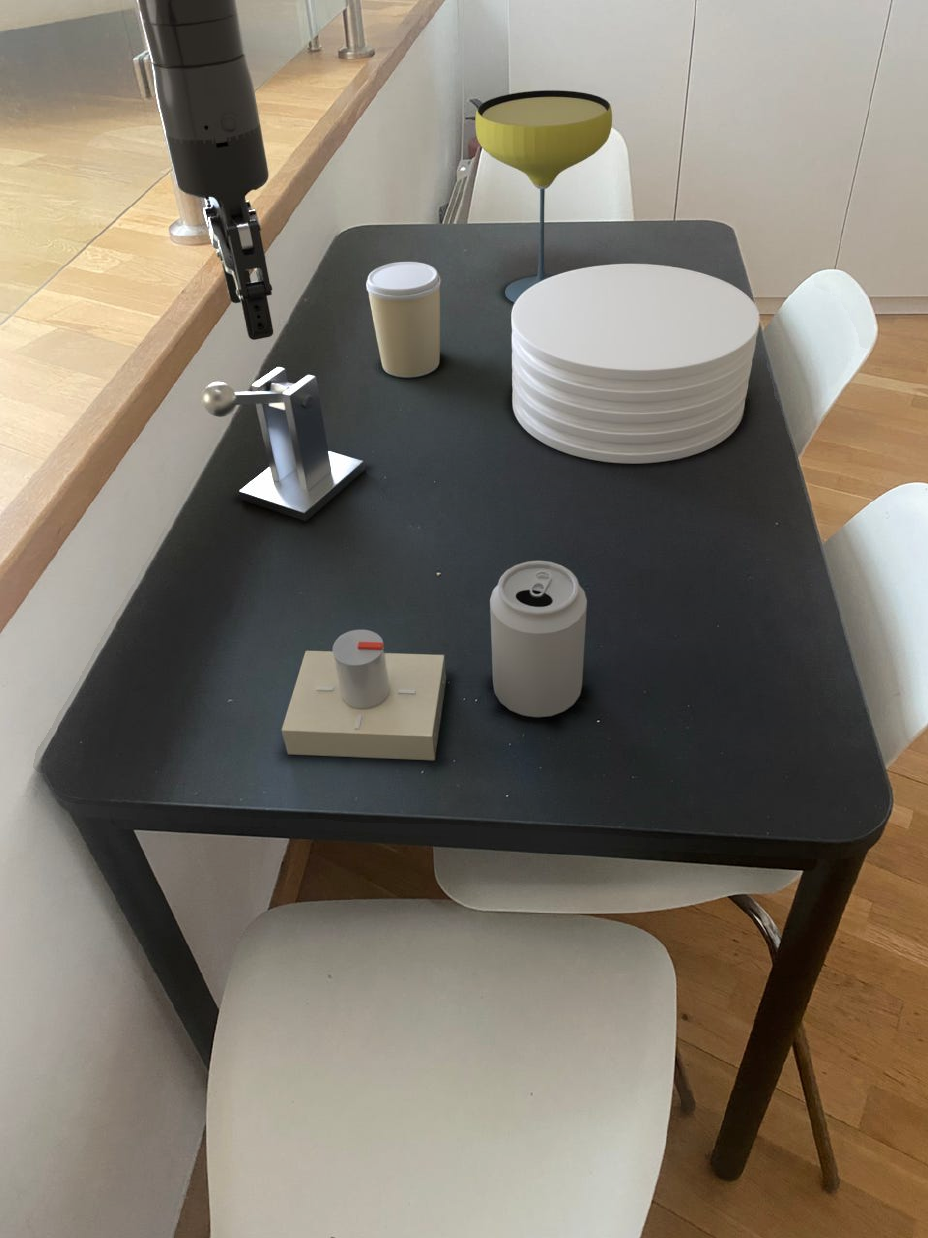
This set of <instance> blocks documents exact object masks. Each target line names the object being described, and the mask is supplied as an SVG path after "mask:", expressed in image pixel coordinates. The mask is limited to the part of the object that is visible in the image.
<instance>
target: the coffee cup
mask: <svg viewBox="0 0 928 1238" xmlns="http://www.w3.org/2000/svg"><path fill="white" fill-rule="evenodd" d="M365 283H366V284H365V285H366V286H365V287H366V291H367V292H368V298H369V303H370V309H371V314H372V321H373V327H374V330H375V331H374V332H375V336H376V341H377V347H378V352H379V357H380V362H381V366H382V369H383V371H385V373H386V374H388V375H391V376H394V377H397V378H407V379H408V378H418V377H422V376H425V375H428V374H430V373H432V372H434V371H435V370H436V369H437V368H438V366H439V365H440V359H441V358H440V357H441V355H440V353H441V351H440V350H441V344H440V343H441V297H440V295H441V294H440V292H441V290H440V286H441V276H440V274H439V273H438V270H437V269H436V268H435V267H433V266H432V265H430V264H427V263H423V262H418V261H399V262H392V263H387V264H384V265H382V266H379V267H376V268H375V269H372V271H371V272H370V273H369V274H368V276H367V280H366V282H365Z"/></svg>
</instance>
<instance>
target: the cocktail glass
mask: <svg viewBox="0 0 928 1238" xmlns="http://www.w3.org/2000/svg"><path fill="white" fill-rule="evenodd" d="M474 124H475V125H474V127H475V136H476V140H477V142H478V144H479V145H480V147H481V148H482V149H483V150H484V151H485V152H486V153H487V154H488V155H489V156H490V157H491V158H493V159H495V160H496V161H499V162H501V163H503V164H504V165H507V166H508V167H511V168H513V169H515V170H518V171H519V172H521V173H523V174H524V175H526V176H527V177H528V179H529V180H530V182H531V183H532V184H533V186H534V187H535V188H536V189H538V190H539V239H538V241H539V242H538V247H539V248H538V264H537V265H538V266H537V272H536V273H537V274H536V275H535V276H528V277H524V278H520V279H517V280H515V281H512V282H511V283H509V284H508V285H507V286H506V288H505V291H504V294H505V297H506V298H507V299H508V300H509V301H510V302H512V303H513V304H515V302H516V301H517V299H518V298H519V297H520V296H521V295H522V294H523V293H524V292H525V291H526V290H527V289H529V288H530V287H532V286H533V285H535V284H537V283H539V282H541V281H543V280H545V279H547V278H550V277H552V276H551V275H546V269H545V268H546V267H545V265H546V264H545V196H546V195H545V194H546V193H545V191H546V189H548V188H549V187H550V186H551V185H552V184H553V183H554V181H555V180H556V178H557V177H558V176H559V174H561V173H562V172H564V171H566V170H567V169H569V168H571V167H573V166H575V165H578V164H579V163H581V162H583V161H585V160H586V159H588V158H590V157H591V156H593V155H595V154H596V153H597V152H598V151H599V150H601V148H603V146H604V145H605V144H606V143H607V142H608V140H609V138H610V134H611V131H612V126H613V111H612V106H611V103H609V100H606V99H605V98H603V97H601V96H599V95H595V94H592V93H587V92H581V91H575V90H563V89H562V90H560V89H559V90H558V89H546V90H543V89H542V90H528V91H519V92H513V93H507V94H503V95H499V96H496V97H493V98H491V99H488V100H486V101H484V102H482V103H481V104H480V105H479V106H478V107H477V109H476V112H475V123H474Z"/></svg>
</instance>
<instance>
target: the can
mask: <svg viewBox="0 0 928 1238" xmlns="http://www.w3.org/2000/svg"><path fill="white" fill-rule="evenodd" d="M490 595H491V596H490V599H489V608H490V609H489V611H490V637H491V638H490V639H491V663H492V666H491V667H492V685H493V692H494V694H495V697H496V698H497V699H498V701H499V703H500V704H502V705H503V706H504V707H506V708H507V710H509V711H511V712H513V713H516V714H519V715H521V716H524V717H531V718H543V717H544V718H545V717H552V716H555V715H558V714H560V713H563V712H565V711H567V710H568V709H570V708H571V707H572V706H574V704H575V703H576V702H577V700H578V699H579V697H580V696H581V692H582V687H583V676H584V675H583V674H584V661H585V660H584V657H585V642H586V624H587V610H588V609H587V608H588V607H587V606H588V599H587V596H586V592H585V590H584V589H583V588H582V586H581V585H580V584H579V580H578V578H577V576H576V575H575V574H574V573H573V572H572V571H571V570H570V569H568V568H567V567H565V566H564V565H561V564H559V563H556V562H553V561H548V560H547V561H545V560H530V561H529V560H528V561H525V562H521V563H517V564H515V565H513V566H511V567H510V568H508V569H507V570H505V572H503V574H502V575H501V576H500V577H499V580H498V583H497V585H496V586H495V587H494V588H493V589H492V592H491V594H490Z"/></svg>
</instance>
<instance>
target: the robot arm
mask: <svg viewBox="0 0 928 1238" xmlns="http://www.w3.org/2000/svg"><path fill="white" fill-rule="evenodd" d="M136 1H137V5H138V8H139V13H140V18H141V21H142V26H143V30H144V34H145V39H146V44H147V47H148V51H149V55H150V59H151V66H152V71H153V78H154V79H153V81H154V90H155V96H156V101H157V105H158V110H159V112H160V114H159V115H160V118H161V122H162V126H163V131H164V135H165V139H166V143H167V148H168V152H169V157H170V160H171V165H172V170H173V175H174V177H175V182H176V185H177V188H178V189H179V190H180V191H181V192H182V193H184V194H185V195H188V196H190V197H194V198H198V199H203V200H204V205H205V207H203V216H204V219H205V222H206V226H207V228H208V233H209V236H210V240H211V243H212V246H213V248H214V249H216V251H215V253H216V257H217V258H218V259H219V261H220V262H221V266H222V270H223V275H224V279H225V285H226V289H227V294H228V298H229V299H230V301H231V303H233V304H239V303H240V305H241V311H242V316H243V320H244V324H245V325H244V326H245V329H246V334H247V336H248V338H249V339H250V340H253V341H255V340H261V339H267V338H270V337H272V335H273V334H274V327H273V322H272V317H271V312H270V307H269V300H268V296H272V295H273V293H272V291H273V287H272V284H271V282H270V277H269V276H270V275H269V271H268V266H267V261H266V260H267V259H266V254H265V251H264V245H263V241H262V235H261V231H262V228H261V225H260V221H259V217H258V214H257V211H256V209H252V205H251V202H250V200H246V196H247V195H248V194H249V193H251V191H256V190H259V189H260V188H262V187H264V186H265V184H266V183H268V182H267V181H268V180H269V176H270V175H269V174H270V173H269V167H268V162H267V158H266V157H267V156H266V155H267V154H266V151H265V145H264V139H263V133H262V126H261V120H260V116H259V109H258V103H257V98H256V93H255V86H254V83H253V79H252V76H251V72H250V69H249V66H248V63H247V58H246V53H245V48H244V42H243V41H244V40H243V36H242V35H243V34H242V30H241V24H240V18H239V13H238V7H237V2H236V0H136ZM251 270H253V271H255V273H256V277H257V280H255V281H252V280H251V275H250V271H251Z"/></svg>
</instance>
